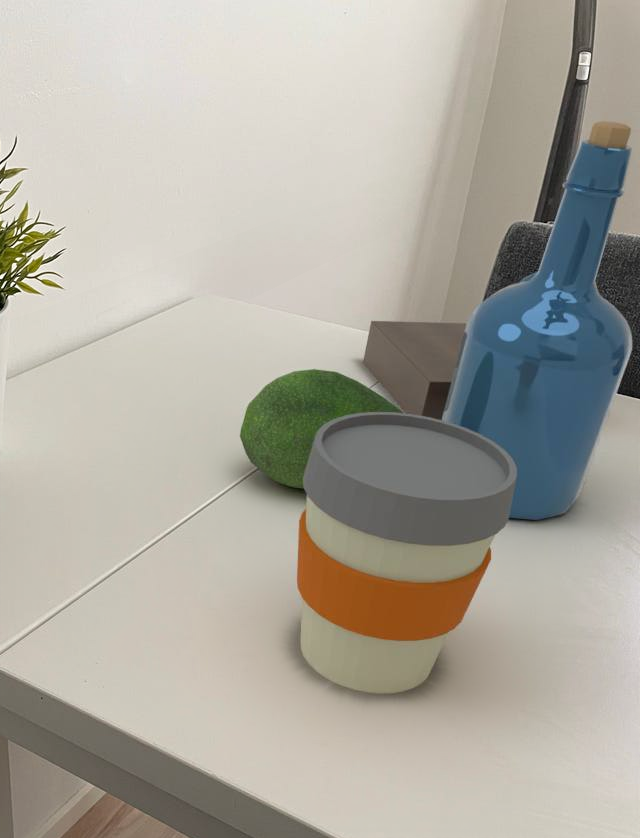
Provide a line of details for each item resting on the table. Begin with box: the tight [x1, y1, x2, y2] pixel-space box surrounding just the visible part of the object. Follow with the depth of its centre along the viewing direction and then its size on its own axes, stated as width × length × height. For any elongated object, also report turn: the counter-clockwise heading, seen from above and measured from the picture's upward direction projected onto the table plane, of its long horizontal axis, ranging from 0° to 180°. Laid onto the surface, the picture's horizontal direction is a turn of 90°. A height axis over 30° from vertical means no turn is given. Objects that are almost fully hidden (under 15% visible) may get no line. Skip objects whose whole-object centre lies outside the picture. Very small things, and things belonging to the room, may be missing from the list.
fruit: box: [239, 368, 404, 489], centre depth 86 cm, size 15×10×10 cm, turn 81°
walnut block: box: [362, 320, 467, 420], centre depth 108 cm, size 18×18×5 cm
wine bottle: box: [442, 120, 633, 521], centre depth 82 cm, size 14×13×30 cm
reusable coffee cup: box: [296, 412, 517, 695], centre depth 64 cm, size 13×13×15 cm
